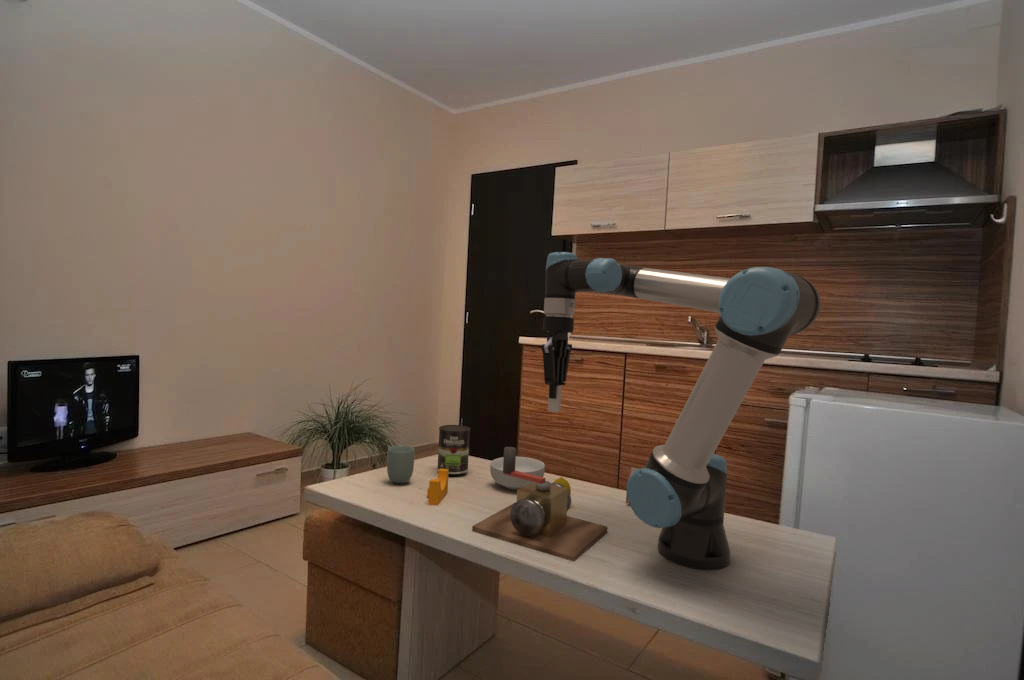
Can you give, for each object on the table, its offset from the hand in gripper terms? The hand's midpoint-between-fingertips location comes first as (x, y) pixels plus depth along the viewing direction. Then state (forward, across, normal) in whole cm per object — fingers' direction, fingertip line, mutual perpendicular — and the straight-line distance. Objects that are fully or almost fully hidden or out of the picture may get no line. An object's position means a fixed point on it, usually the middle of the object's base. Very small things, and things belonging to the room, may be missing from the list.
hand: (553, 411), depth 125 cm
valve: (+27, -6, -1) cm, 27 cm away
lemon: (+29, +13, +3) cm, 32 cm away
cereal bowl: (+29, +20, +21) cm, 41 cm away
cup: (+29, +1, +51) cm, 58 cm away
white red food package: (+29, +29, -15) cm, 43 cm away
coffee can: (+29, +21, +46) cm, 58 cm away
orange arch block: (+29, -2, +34) cm, 45 cm away
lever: (+18, -6, -1) cm, 19 cm away
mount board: (+28, -6, -1) cm, 29 cm away
